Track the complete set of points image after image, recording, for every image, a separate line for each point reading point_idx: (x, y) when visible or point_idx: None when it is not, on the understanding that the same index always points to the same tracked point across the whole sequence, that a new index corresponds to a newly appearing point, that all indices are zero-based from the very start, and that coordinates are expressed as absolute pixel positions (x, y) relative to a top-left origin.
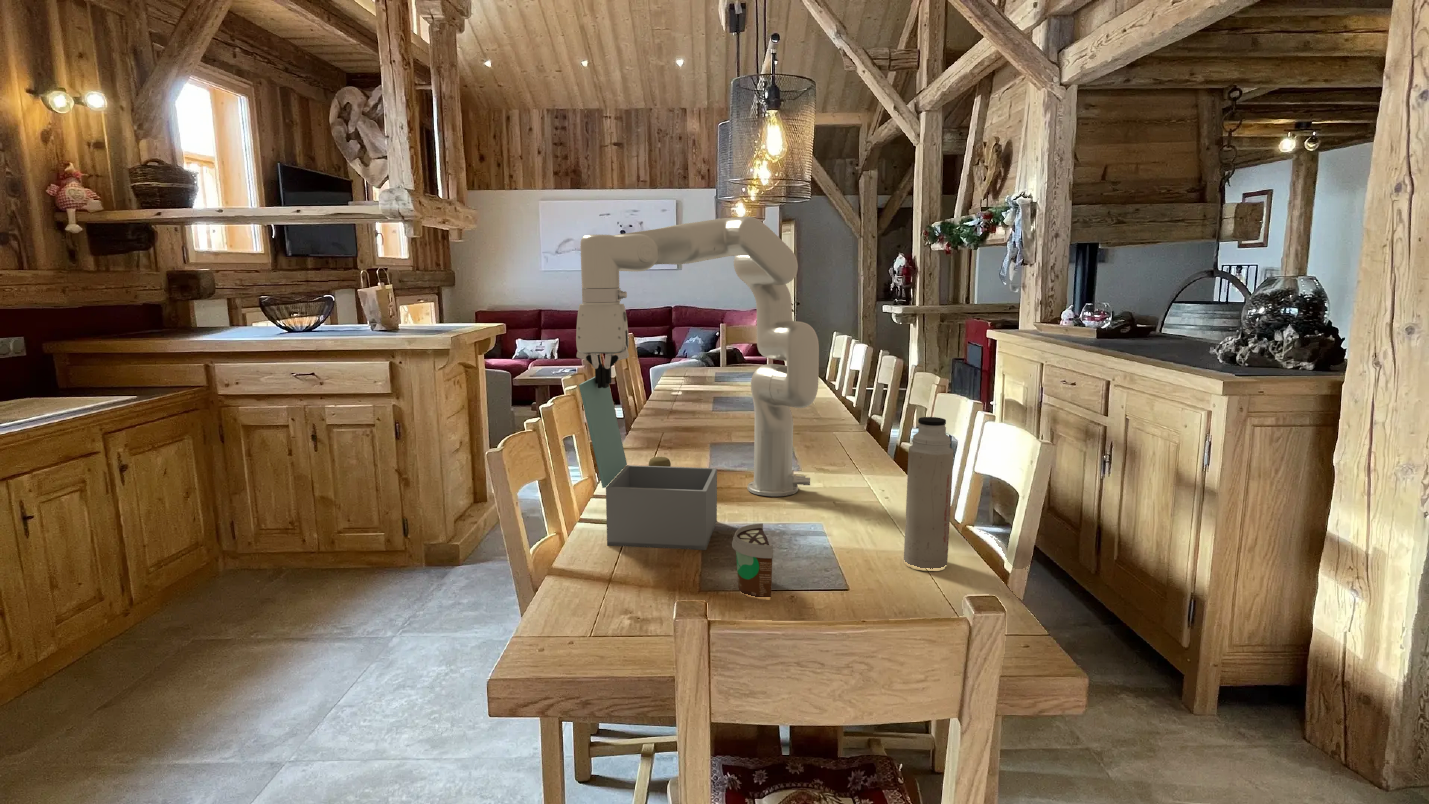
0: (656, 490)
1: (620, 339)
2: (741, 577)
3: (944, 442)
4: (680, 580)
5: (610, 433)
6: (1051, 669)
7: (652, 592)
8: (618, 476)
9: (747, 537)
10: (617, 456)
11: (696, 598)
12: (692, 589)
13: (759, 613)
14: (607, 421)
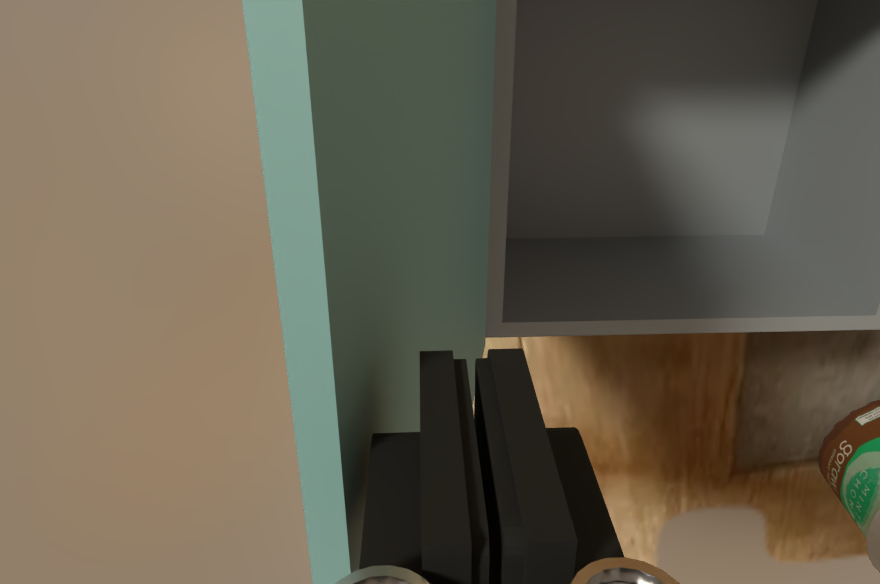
0: (690, 332)
1: None
2: (843, 504)
3: None
4: (691, 432)
5: (466, 150)
6: None
7: (630, 491)
8: (501, 164)
9: None
10: (486, 80)
11: (724, 503)
12: (717, 468)
13: (840, 539)
14: (452, 183)
